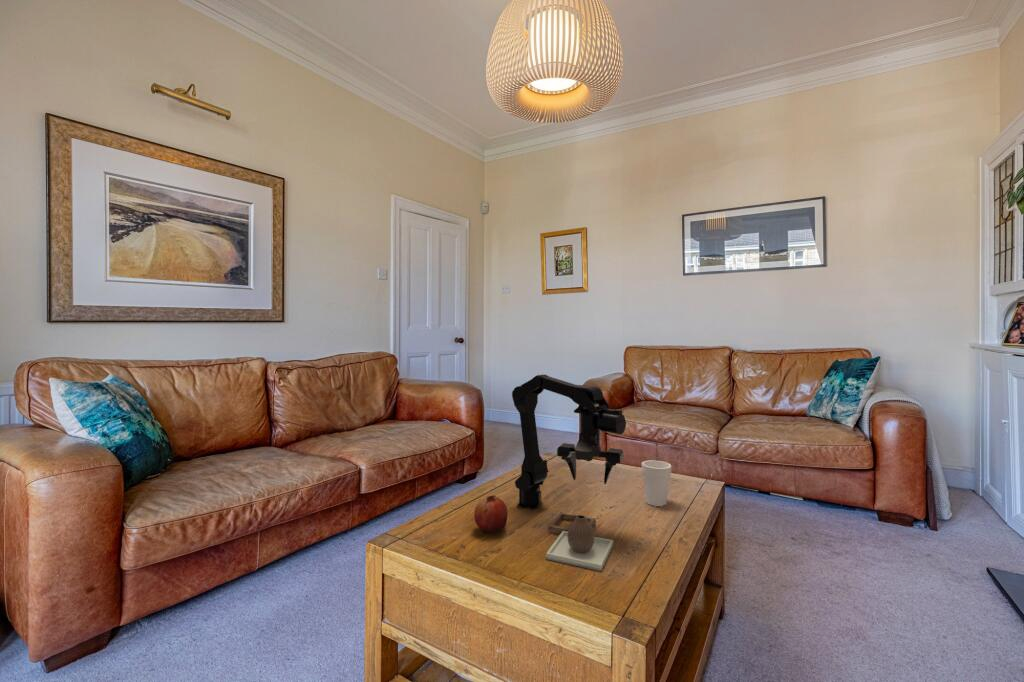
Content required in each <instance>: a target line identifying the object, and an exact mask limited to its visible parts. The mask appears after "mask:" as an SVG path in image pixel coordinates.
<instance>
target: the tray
mask: <svg viewBox="0 0 1024 682" xmlns="http://www.w3.org/2000/svg"><path fill="white" fill-rule="evenodd" d="M567 534H568V532H567V531H563V532H562V533H561V534H560V535H558V537H557V538H556V540H555V541H554V542H553V544H552V545H551V546H550V548H549V549H548V550H547V551H546V554H545V560H548V561H552V562H557V563H561V564H566V565H571V566H575V567H580V568H585V569H589V570H593V571H597V572H602V571H603V568H604V567H605V564H606V562H607V560H608V558H609V556H610V553H611V551H612V549H613V547H614V539H613V540H612V539H609V538H603V537H598V536H597V537H596V536H594V544H593V546H592V548H591V549H590V550H589V551H588V552H587V553H582V554H581V553H576V552H575V551H573V550H572V549H571V547H570V545H569V543H568V536H567Z"/></svg>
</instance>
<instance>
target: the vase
mask: <svg viewBox="0 0 1024 682" xmlns="http://www.w3.org/2000/svg"><path fill="white" fill-rule="evenodd" d="M576 515H577V516H576V518H575V520H574V521H571V523H570V524H569V527H568V528H569V529H568V534H567V536H568V543H569V545H570V547H571V549H572V550H573V551H575V552H576V553H581V554H582V553H587V552H588V551H589V550H590V549H591V548H592V546H593V544H594V537H595V532H594V528H592V526H591V525H590V524H589V522H588V521H587V519H586V517H585V516H586V515H583V514H576Z"/></svg>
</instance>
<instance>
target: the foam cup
mask: <svg viewBox="0 0 1024 682" xmlns="http://www.w3.org/2000/svg"><path fill="white" fill-rule="evenodd" d="M641 472H642V478H643V488H644V495H645V500H646V504H647V503H648V505H649V504H650V505H649V506H651V505H654V506H653V507H656V506H662V507H664V506H663V505H665V504H666V505H667V502H668V493H669V486H670V480H671V475H672V465H671V463H669V462H666V461H662V460H653V459H652V460H650V459H649V460H644V461H642V462H641ZM666 505H665V506H666Z"/></svg>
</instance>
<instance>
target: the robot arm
mask: <svg viewBox="0 0 1024 682" xmlns="http://www.w3.org/2000/svg"><path fill="white" fill-rule="evenodd" d="M544 390H546V391H548V392H551V393H554V394H557V395H561V396H564V397H567V398H569V399H570V400H571V401H573V403H574V404H576V405H578V406H577V408H574V410H573V413H575V414H580V415H579V419H580V423H579V426H580V427H579V435H578V441H577V443H576V445H575V444H574V443H566V442H565V443H562V444H561V445H559V446H558V447H557V450H556V455H557V457H559V458H560V457H561V460H564V461H565V462H566V463H567V465H568V467H569V470H570V473H571V476H572V479H573V481H575V480H577V461H586V462H591V461H593V460H594V459H593V458H604V459H605V460H606V461H605V463H604V466H605V468H604V477H603V478H604V479H603V484H604V485H607V482H608V480H609V478H610V477H609V476H610V474H611V471H612V469H613V467H614V466H617V464H621V463H622V461H623V460H624V451H623V449H622V448H621V449H620V448H611V447H610V448H609V449H608V450H602V449H601V445H600V444H601V439H600V438H601V437H600V436H601V432H604V433H608V434H613V435H614V434H615V435H620V436H621V435H623V434H624V433H625V431H626V427H627V420H626V418H625V415H624V414H623V409H611V406H610V404H609V403H608V401H607V400H606V398H605V396H604V395H603V391H602V389H601V388H600V387H599V386H596V385H589V384H588V385H587V384H585V385H584V384H576V383H575V384H574V383H573V382H568V381H565V380H562V379H559V378H555V377H552V376H549V375H548V374H537V375H535V376H534V377H532V378H531V379H529V380H528V381H526V382H524V383H522V384H520V385H517V386H515V387H514V389H513V390H512V392H511V397H512V402H513V404H514V408H515V409H516V410H517V411H518V413H519V417H520V418H519V419H520V426H521V427H520V428H521V436H522V444H523V453H524V458H523V461H522V464H521V469H520V470H521V471H520V472H521V473H520V476H518V478H516V479H515V481H514V484H515V488H516V489H518V490H519V491H518V493H519V495H518V503H517V505H516V507H518V506H519V507H518V508H524V509H529V510H536V509H537V508H538V507H539V506H540V505H541V504H542V503H543V500H542V491H541V486H542V485H544V482H545V480H546V479H547V477H548V473H549V471H550V470H549V468H548V461H547V460H546V459H543V458H542V457H541V454H540V448H539V439H538V431H537V423H536V414H535V413H536V412H535V411H536V408H537V405H538V402H539V401H538V398H539V397H538V396H539V395H540V394H542V393H543V391H544Z"/></svg>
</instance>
